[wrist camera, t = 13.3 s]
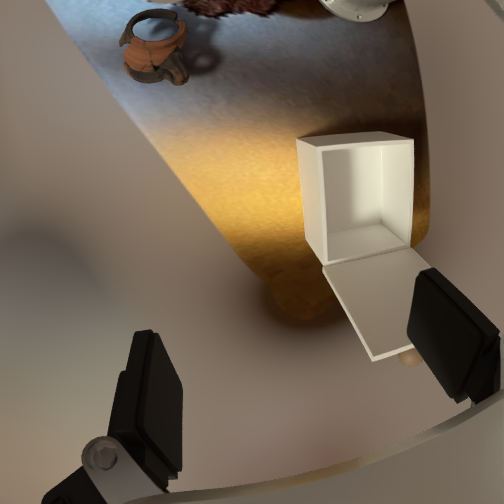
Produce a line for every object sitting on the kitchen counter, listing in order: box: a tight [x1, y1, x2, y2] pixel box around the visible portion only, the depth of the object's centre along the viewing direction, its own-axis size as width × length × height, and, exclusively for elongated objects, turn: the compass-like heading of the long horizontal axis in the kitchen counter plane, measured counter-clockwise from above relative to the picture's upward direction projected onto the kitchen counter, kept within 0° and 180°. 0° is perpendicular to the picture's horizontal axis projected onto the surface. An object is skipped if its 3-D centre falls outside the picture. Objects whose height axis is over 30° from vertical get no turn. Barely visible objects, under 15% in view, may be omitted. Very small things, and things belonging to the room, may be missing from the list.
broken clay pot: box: [119, 9, 189, 86], centre depth 33 cm, size 12×10×8 cm
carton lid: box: [323, 248, 431, 367], centre depth 37 cm, size 16×14×7 cm
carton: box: [296, 131, 414, 266], centre depth 43 cm, size 16×14×9 cm
